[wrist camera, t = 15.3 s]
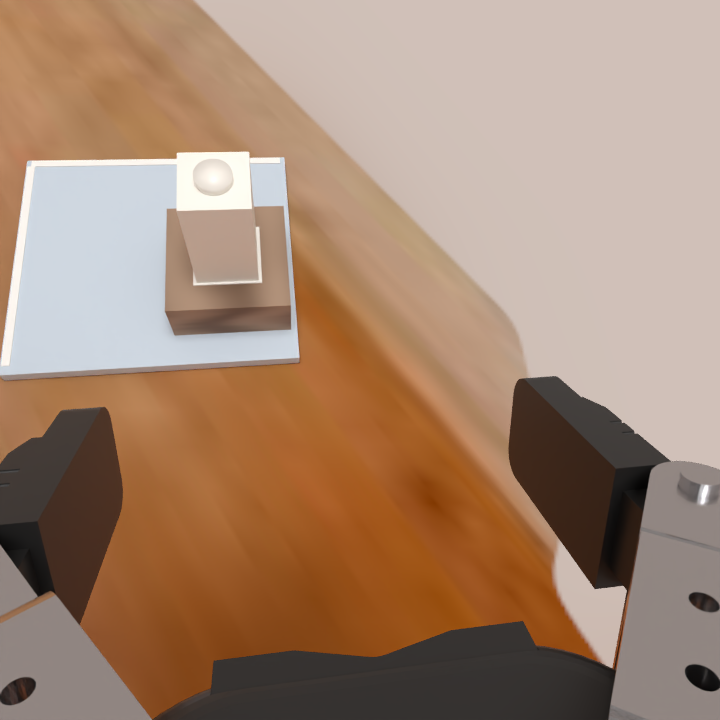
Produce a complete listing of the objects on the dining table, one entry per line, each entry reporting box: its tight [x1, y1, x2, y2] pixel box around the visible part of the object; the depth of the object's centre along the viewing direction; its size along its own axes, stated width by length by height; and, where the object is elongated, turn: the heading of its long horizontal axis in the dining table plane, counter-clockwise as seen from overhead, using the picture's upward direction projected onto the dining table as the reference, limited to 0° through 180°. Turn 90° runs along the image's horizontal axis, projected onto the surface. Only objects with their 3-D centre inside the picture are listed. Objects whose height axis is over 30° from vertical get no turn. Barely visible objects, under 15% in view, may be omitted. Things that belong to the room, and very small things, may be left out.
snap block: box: [176, 152, 259, 283], centre depth 41 cm, size 4×4×9 cm
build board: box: [0, 158, 299, 381], centre depth 48 cm, size 22×20×5 cm
